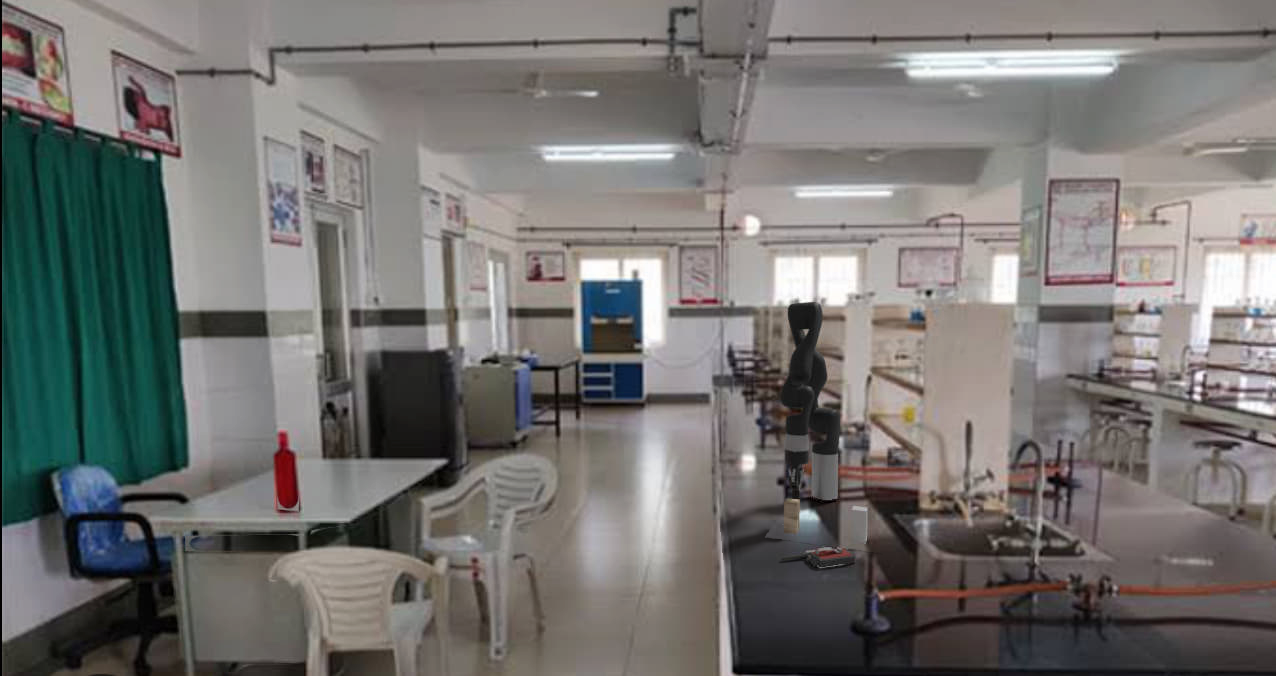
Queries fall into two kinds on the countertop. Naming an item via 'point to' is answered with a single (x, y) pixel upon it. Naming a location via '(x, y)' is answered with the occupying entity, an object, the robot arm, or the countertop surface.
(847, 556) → the walkie-talkie
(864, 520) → the grey block
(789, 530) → the beech block
